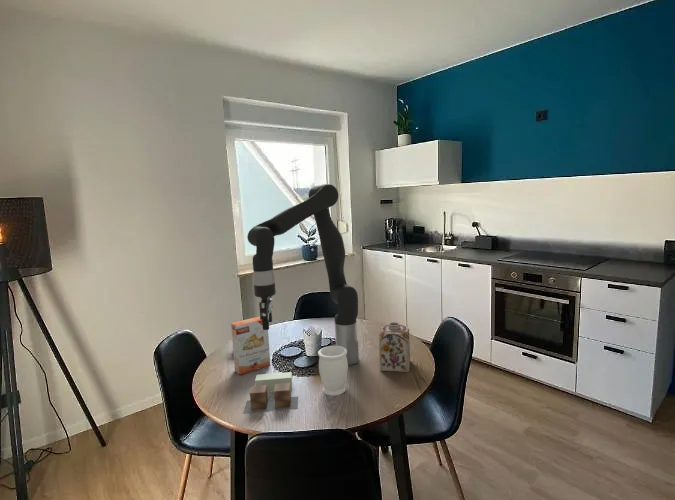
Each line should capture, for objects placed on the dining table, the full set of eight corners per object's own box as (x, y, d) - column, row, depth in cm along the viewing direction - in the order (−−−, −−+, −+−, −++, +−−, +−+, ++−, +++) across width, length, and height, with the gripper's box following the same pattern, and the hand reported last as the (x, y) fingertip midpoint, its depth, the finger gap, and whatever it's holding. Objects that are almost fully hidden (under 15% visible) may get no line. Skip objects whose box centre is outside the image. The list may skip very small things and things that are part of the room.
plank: (292, 385, 142) (291, 372, 141) (292, 391, 138) (291, 377, 137) (257, 388, 141) (256, 374, 140) (256, 394, 137) (255, 380, 136)
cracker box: (239, 375, 152) (235, 326, 149) (234, 370, 157) (230, 322, 154) (271, 365, 160) (267, 318, 157) (265, 361, 165) (261, 315, 162)
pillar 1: (268, 401, 131) (266, 384, 130) (266, 408, 126) (265, 392, 125) (253, 402, 130) (252, 386, 130) (251, 410, 125) (249, 393, 125)
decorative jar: (409, 373, 147) (408, 329, 145) (379, 371, 150) (378, 328, 147) (410, 360, 159) (409, 319, 156) (382, 358, 161) (381, 318, 159)
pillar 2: (291, 399, 131) (290, 383, 130) (290, 407, 126) (289, 390, 125) (276, 400, 131) (275, 384, 130) (275, 408, 126) (274, 391, 125)
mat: (298, 397, 133) (298, 396, 133) (297, 409, 125) (297, 408, 125) (247, 401, 132) (246, 400, 132) (242, 414, 124) (242, 413, 124)
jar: (339, 400, 130) (336, 359, 127) (314, 393, 135) (312, 353, 133) (354, 387, 138) (352, 348, 136) (330, 380, 144) (328, 343, 142)
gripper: (272, 286, 128) (275, 331, 130) (277, 277, 142) (280, 318, 145) (250, 287, 128) (254, 333, 130) (257, 278, 142) (260, 320, 144)
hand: (267, 325), depth 137 cm, fingers open, 8 cm apart
